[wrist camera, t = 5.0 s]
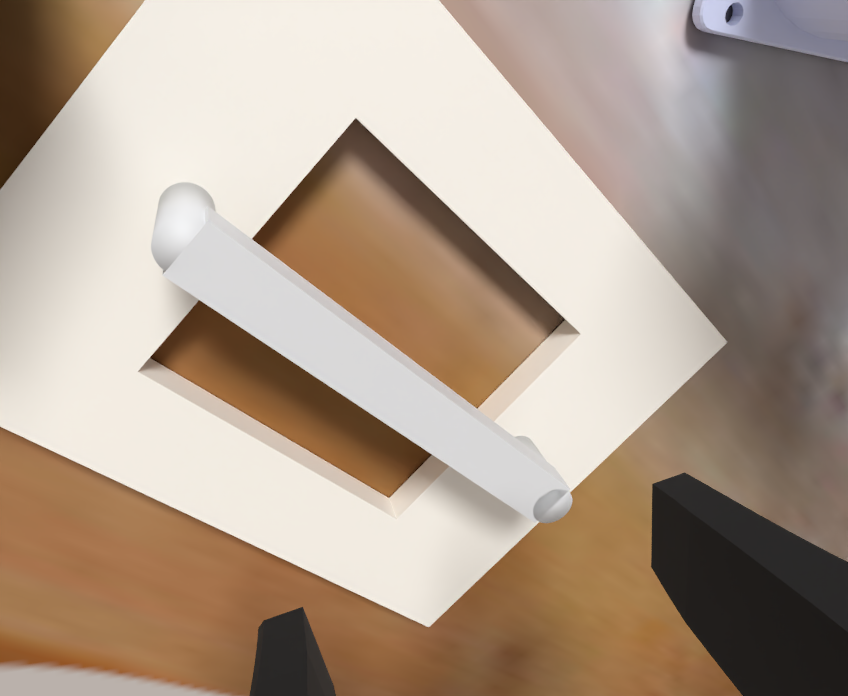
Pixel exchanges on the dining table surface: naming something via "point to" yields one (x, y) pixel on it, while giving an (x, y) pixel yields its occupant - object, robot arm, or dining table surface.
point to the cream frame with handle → (305, 304)
